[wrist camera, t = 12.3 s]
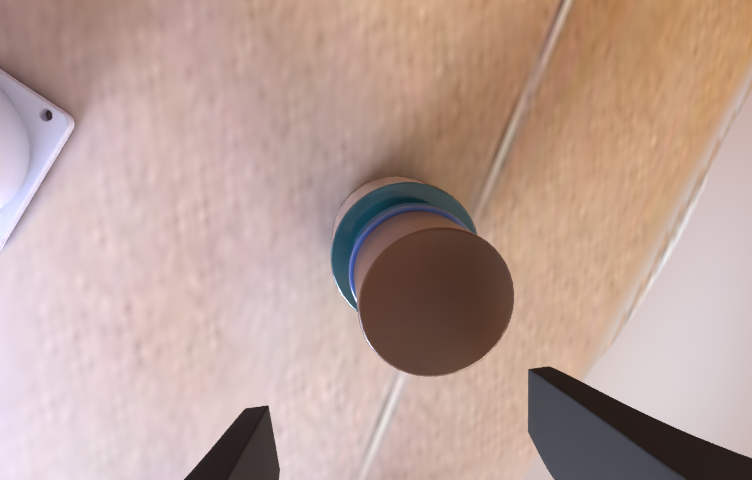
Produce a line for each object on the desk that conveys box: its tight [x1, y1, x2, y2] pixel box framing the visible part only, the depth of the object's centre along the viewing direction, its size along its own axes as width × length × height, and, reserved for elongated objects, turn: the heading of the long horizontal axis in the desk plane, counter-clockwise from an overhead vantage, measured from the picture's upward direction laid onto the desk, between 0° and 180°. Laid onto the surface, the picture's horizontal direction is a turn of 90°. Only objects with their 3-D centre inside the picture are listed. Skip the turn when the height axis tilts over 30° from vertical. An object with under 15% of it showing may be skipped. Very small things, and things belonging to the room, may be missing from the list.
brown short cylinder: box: [354, 211, 514, 376], centre depth 12 cm, size 5×5×3 cm
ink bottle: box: [331, 176, 477, 312], centre depth 17 cm, size 6×6×6 cm
